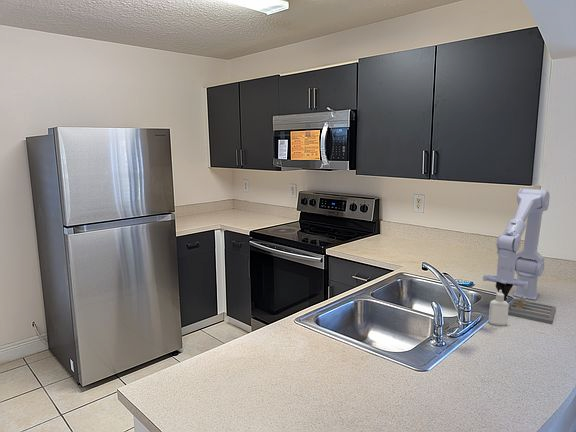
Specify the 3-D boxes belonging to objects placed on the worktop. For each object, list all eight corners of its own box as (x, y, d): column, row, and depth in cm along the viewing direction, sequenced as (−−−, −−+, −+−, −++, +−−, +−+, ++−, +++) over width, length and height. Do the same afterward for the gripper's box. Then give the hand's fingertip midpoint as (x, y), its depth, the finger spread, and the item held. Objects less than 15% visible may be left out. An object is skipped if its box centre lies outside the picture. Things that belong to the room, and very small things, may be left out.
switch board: (513, 301, 160) (513, 296, 160) (555, 309, 152) (556, 304, 151) (506, 314, 147) (506, 308, 147) (551, 324, 139) (552, 318, 139)
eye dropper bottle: (504, 327, 136) (508, 293, 134) (486, 323, 140) (489, 289, 138) (508, 323, 139) (511, 290, 137) (490, 319, 143) (493, 286, 141)
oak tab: (516, 307, 150) (517, 299, 149) (522, 308, 149) (523, 300, 148) (515, 308, 148) (516, 301, 148) (522, 310, 147) (522, 302, 147)
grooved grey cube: (519, 301, 155) (520, 294, 155) (525, 302, 154) (526, 295, 154) (518, 303, 154) (519, 295, 153) (524, 304, 153) (525, 297, 152)
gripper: (482, 266, 151) (479, 301, 153) (527, 273, 142) (523, 310, 144) (486, 262, 156) (483, 295, 158) (529, 268, 148) (526, 304, 150)
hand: (502, 302), depth 152 cm, fingers closed
